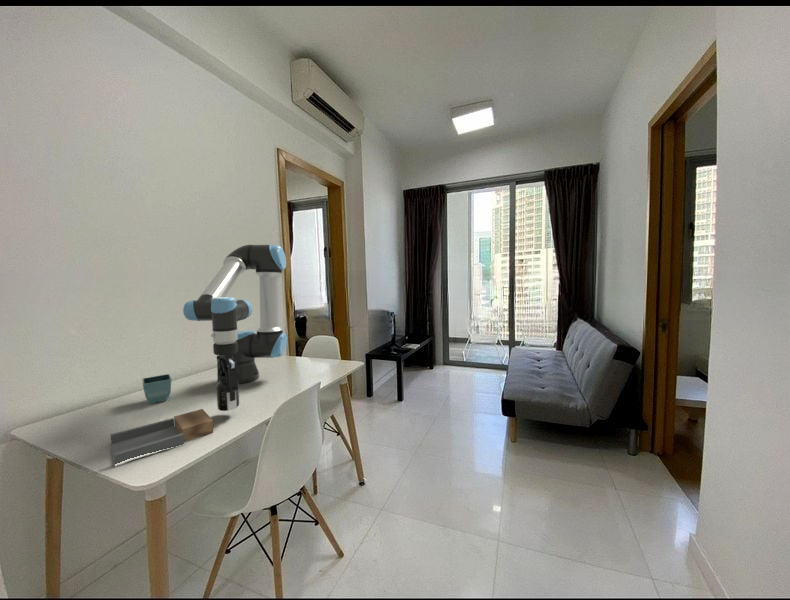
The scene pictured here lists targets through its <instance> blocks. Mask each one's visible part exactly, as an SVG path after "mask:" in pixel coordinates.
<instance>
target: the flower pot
mask: <svg viewBox="0 0 790 600" xmlns="http://www.w3.org/2000/svg"><path fill="white" fill-rule="evenodd" d="M141 380H142V381H141V382H142V388H143V392H144V397H145V399H146V400H147V402H148V403H149V404H151V405H152V404H155V403H161V402H166V401H167V400H168V399H169V397H170V394H171V390H172V377H171V375H170V373H167V374H162V375H156V376H149V377H143V378H141Z"/></svg>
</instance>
